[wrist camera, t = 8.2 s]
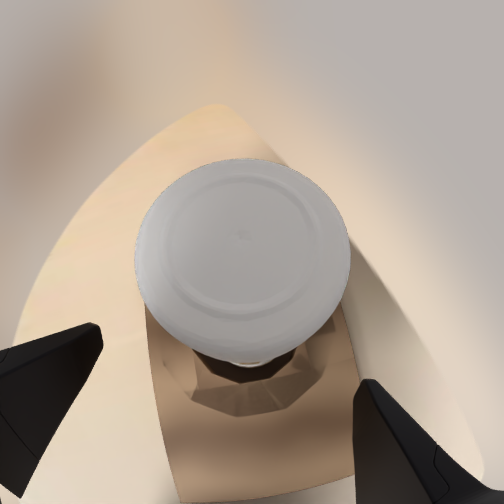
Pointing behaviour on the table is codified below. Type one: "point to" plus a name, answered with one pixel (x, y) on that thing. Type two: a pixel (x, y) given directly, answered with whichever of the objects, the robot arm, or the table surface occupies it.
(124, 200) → the table surface
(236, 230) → the sprinkles bottle
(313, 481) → the board
